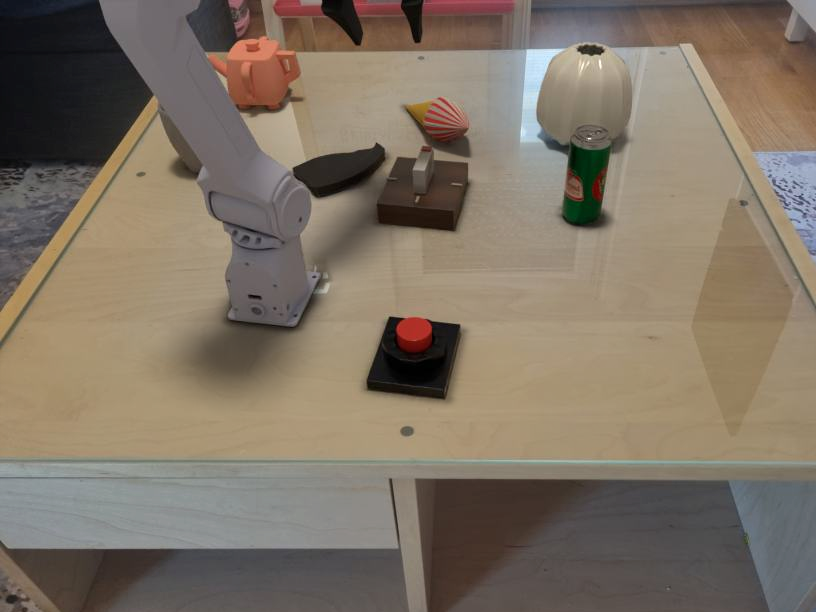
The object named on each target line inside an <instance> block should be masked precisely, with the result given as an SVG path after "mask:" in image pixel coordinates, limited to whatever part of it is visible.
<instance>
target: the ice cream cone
mask: <svg viewBox="0 0 816 612" xmlns="http://www.w3.org/2000/svg"><path fill="white" fill-rule="evenodd" d="M404 108H405V109H406V110H407V111H408V113H410V114H411V116H413V118H414V119H415V120H416V121H417V122H418V123H419V124H420V126H422V128H424V131H425V132H426V134H427V135H428V136H429V137H432V138H434V140H435V141H439V142H444V143H447V142H452V141H455V140H457V139H459V138H461V137H463V136H464V135H465V134H466V133H467V132H468V131H469V128H470V120H469V117H468V114H467V112H466V111H465V109H464V107H463V106H462V105H461V104H460V103H457V102H456V100H453V99H448V98H447V97H445V96H440V97H437V98H435V99H434V100H431V101H425V102H421V103H416V104H410V105H405V106H404Z"/></svg>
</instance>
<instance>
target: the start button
mask: <svg viewBox="0 0 816 612" xmlns="http://www.w3.org/2000/svg"><path fill="white" fill-rule="evenodd" d="M405 318H406V319H404V320H402V321H401V322H400V323H399V324H398V325H397V328H396V331H397V343H398V346H399V347H400V348H401V349H402V350H404V351H406V352H410V353H419V352H422V351H425V350H426V349H428V348H429V347H430V345H431V344H432V327H431V324H430V323H429V322H428V321H427V320H425V319H426V318H423V317H419V316H410V317H405Z"/></svg>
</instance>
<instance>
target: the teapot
mask: <svg viewBox="0 0 816 612" xmlns="http://www.w3.org/2000/svg"><path fill="white" fill-rule="evenodd" d="M208 59H209V60H210V62H211V64H212V66H213V67H214V69H215V71H216V73H218V74H220V75H221V76H222V77H224V78H225V79H226V86H227V92H228V94H229V95H230V97H231V99H232V100H233V102H234V104H235V105H238V108H239V109H249V108H251V106H266V107H267V109H268V110H276V109H279V108H280V104H279V103H280V102H281V101H282V100H283V99H284V98H285V96H286V94H287V92H288V89H289V84H291V83H293V82H294V81H296V80H297V79H299V78H301V75H302V72H301V68H300V64H299V60H298V56H297V53H296V50H283V49H282V47H281V43H279V41H278V40H274V39H272V40H271V39H269V37H268V36H265V35H263V36H260V37H259V38H258V39H257V38H248V39H240V40H238V41H237V42H235V44H233V46H232V47H231V48H230V50H229V52H228V54H227V56H226V63H224V61H222V60H221V59H220V58H219V57H217V56H216V55H215V54H213V53H210V55H209V56H208ZM287 62H288V63H287Z"/></svg>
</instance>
